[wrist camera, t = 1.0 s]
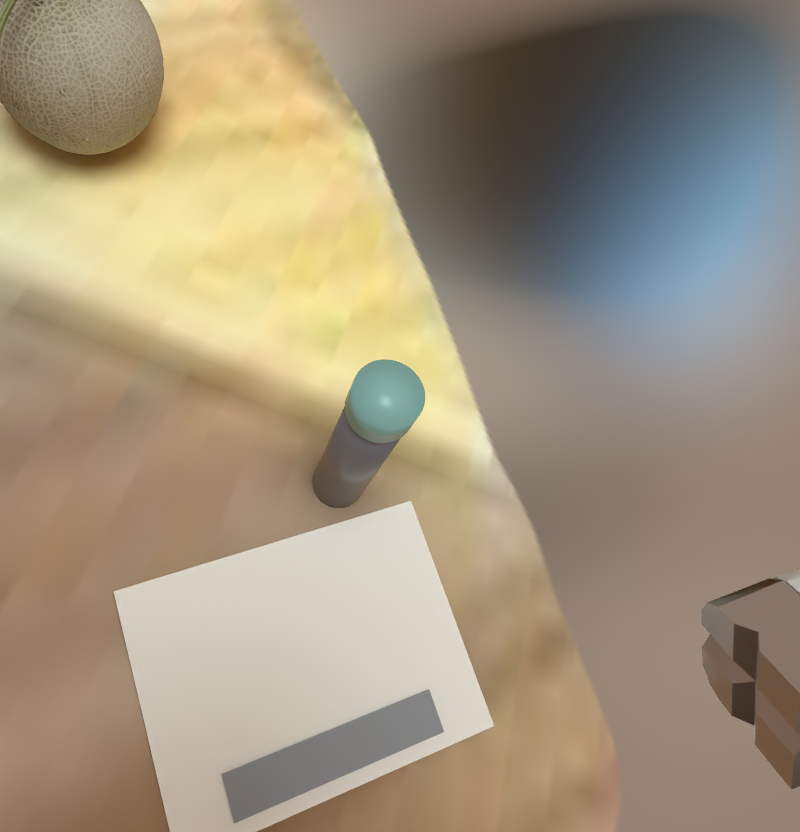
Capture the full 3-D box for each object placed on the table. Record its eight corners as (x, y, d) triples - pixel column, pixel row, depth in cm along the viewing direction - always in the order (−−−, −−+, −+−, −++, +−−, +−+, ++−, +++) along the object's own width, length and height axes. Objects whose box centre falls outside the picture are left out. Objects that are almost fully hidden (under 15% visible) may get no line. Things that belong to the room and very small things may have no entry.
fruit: (-39, 138, 48) (-133, -87, 35) (77, 47, 53) (35, -180, 40) (94, 222, 48) (51, 29, 35) (197, 122, 53) (195, -78, 40)
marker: (303, 465, 45) (342, 368, 33) (354, 451, 46) (409, 353, 34) (320, 516, 44) (366, 435, 32) (371, 500, 45) (435, 417, 33)
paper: (114, 592, 40) (113, 590, 39) (409, 502, 46) (411, 499, 45) (178, 865, 36) (177, 867, 35) (491, 725, 42) (495, 725, 41)
